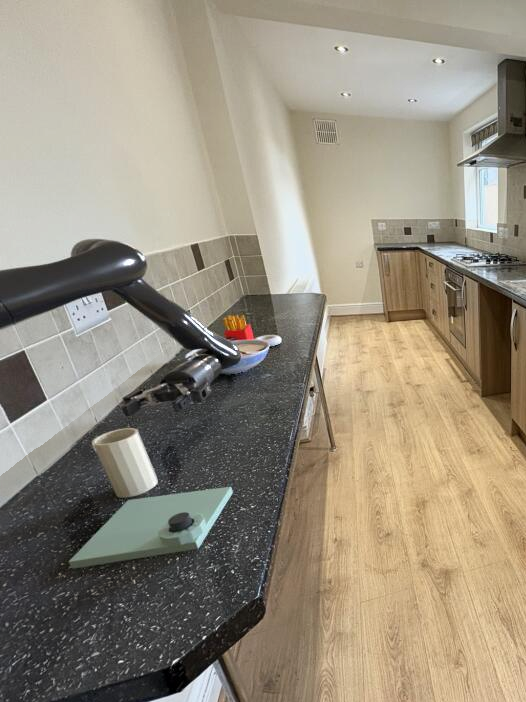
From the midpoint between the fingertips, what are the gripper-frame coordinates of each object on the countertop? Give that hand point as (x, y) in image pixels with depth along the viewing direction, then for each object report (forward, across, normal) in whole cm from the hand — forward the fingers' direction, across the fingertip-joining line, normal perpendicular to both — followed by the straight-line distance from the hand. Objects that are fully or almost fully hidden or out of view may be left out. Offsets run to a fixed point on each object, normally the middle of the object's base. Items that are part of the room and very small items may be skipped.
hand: (151, 409), depth 82 cm
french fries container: (-71, -8, +11) cm, 72 cm away
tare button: (+29, +15, +8) cm, 34 cm away
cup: (+11, 0, +11) cm, 16 cm away
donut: (-81, -3, +12) cm, 82 cm away
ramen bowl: (-53, -5, +11) cm, 54 cm away
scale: (+24, +10, +11) cm, 28 cm away
